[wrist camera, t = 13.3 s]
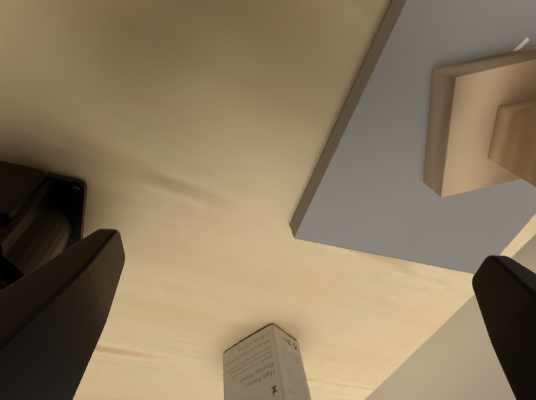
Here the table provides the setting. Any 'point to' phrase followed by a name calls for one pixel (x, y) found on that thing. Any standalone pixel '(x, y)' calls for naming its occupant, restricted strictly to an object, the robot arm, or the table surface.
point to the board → (415, 144)
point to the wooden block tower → (482, 123)
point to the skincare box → (265, 368)
